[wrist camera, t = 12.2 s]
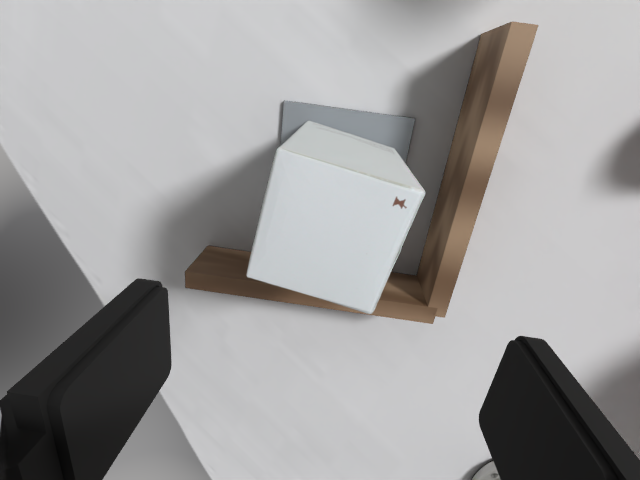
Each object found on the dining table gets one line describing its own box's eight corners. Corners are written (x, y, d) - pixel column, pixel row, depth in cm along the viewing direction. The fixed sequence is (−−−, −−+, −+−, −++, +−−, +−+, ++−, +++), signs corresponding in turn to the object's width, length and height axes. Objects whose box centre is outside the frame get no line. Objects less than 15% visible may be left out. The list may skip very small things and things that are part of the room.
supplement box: (306, 117, 27) (276, 140, 16) (397, 147, 28) (433, 191, 16) (281, 205, 30) (241, 278, 19) (364, 231, 31) (374, 319, 19)
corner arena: (428, 292, 33) (442, 325, 28) (207, 260, 33) (185, 287, 29) (502, 37, 25) (538, 25, 20) (207, -3, 25) (175, -23, 20)
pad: (388, 238, 31) (388, 239, 31) (275, 222, 31) (274, 223, 31) (414, 118, 27) (415, 118, 27) (284, 100, 27) (284, 100, 27)
